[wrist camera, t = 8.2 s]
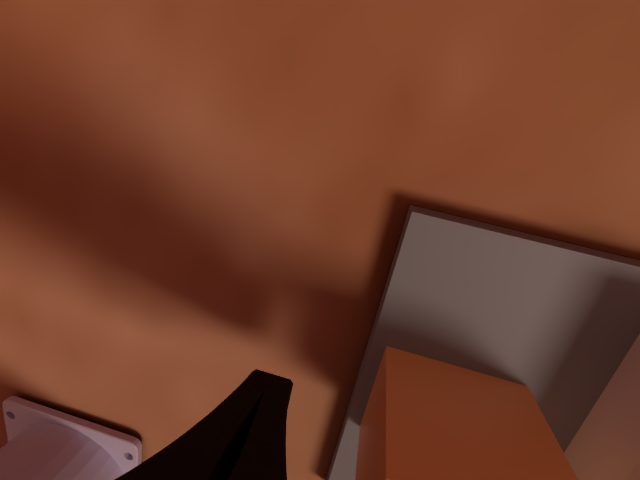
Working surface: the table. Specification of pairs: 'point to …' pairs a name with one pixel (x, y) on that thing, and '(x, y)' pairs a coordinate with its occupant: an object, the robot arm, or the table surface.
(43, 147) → the table surface
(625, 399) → the board
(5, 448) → the robot arm
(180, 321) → the table surface
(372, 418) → the block
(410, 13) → the table surface
